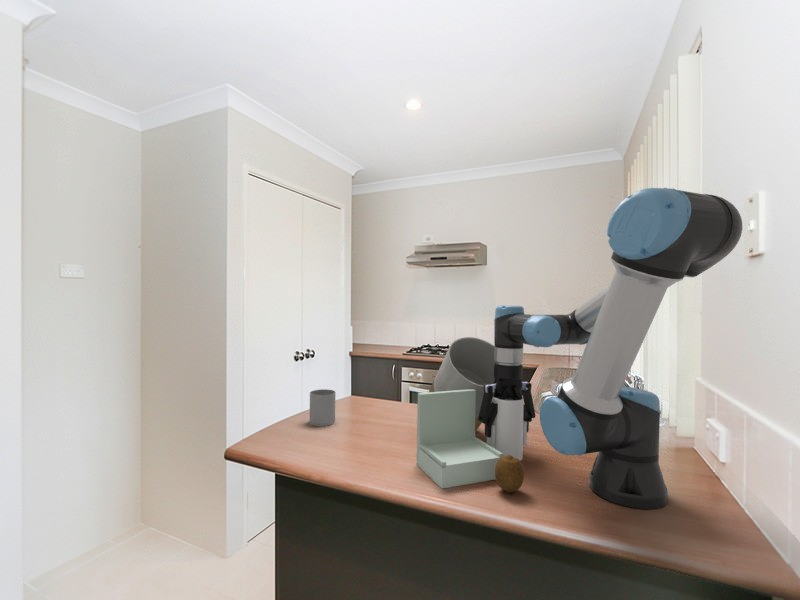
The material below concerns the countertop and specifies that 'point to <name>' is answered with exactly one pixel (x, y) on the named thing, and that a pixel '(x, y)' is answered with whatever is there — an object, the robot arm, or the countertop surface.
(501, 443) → the cup
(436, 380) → the planter
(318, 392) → the cup
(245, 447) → the countertop surface
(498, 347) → the robot arm
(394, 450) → the countertop surface
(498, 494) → the countertop surface
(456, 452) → the mint green bookend
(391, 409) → the countertop surface
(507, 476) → the fruit
